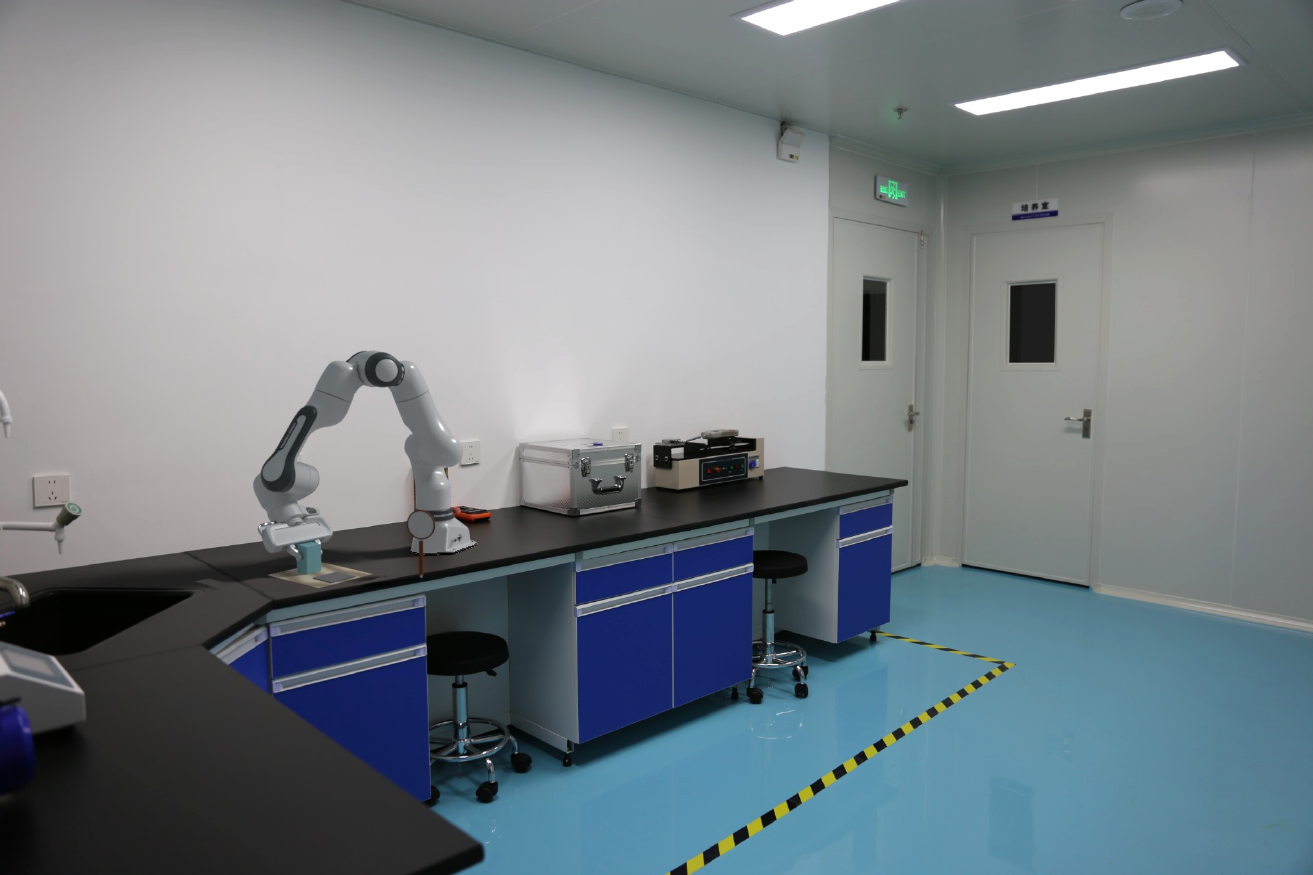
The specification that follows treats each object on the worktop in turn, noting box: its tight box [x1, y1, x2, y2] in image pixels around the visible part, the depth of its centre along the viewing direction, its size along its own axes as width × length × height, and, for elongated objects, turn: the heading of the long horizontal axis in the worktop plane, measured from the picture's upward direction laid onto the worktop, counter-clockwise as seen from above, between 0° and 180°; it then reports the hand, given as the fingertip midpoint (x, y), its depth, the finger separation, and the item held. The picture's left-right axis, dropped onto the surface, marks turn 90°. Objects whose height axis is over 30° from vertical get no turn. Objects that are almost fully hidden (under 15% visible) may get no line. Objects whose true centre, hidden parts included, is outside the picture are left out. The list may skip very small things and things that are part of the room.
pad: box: [313, 572, 356, 583], centre depth 235 cm, size 8×8×1 cm
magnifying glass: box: [406, 510, 435, 579], centre depth 242 cm, size 9×2×20 cm, turn 79°
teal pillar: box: [296, 542, 322, 575], centre depth 241 cm, size 5×5×8 cm
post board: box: [268, 561, 372, 589], centre depth 238 cm, size 18×22×6 cm
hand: (310, 557), depth 240 cm, fingers closed on teal pillar, 5 cm apart
